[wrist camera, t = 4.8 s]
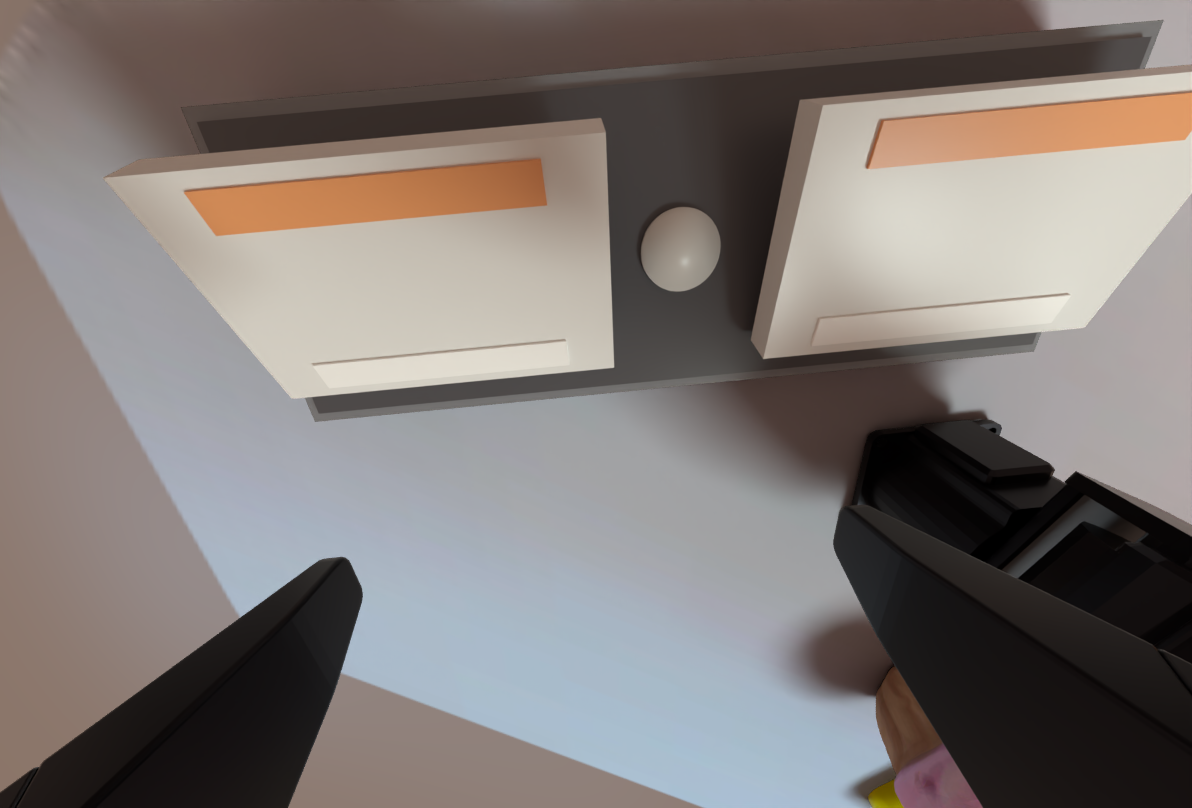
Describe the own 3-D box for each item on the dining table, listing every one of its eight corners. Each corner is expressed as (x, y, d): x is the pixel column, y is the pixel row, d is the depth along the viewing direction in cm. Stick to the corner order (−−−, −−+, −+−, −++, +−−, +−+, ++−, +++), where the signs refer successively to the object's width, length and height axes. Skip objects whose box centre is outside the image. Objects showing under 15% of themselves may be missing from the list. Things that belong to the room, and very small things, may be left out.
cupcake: (990, 653, 30) (1170, 847, 21) (917, 722, 33) (1044, 913, 24) (887, 634, 28) (1033, 835, 19) (821, 708, 32) (919, 907, 23)
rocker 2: (1052, 310, 15) (1087, 329, 14) (750, 340, 15) (764, 360, 14) (1231, 60, 11) (1301, 62, 10) (799, 100, 10) (824, 105, 9)
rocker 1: (610, 345, 15) (614, 369, 14) (305, 374, 15) (291, 401, 14) (601, 118, 10) (606, 133, 9) (139, 159, 10) (98, 179, 9)
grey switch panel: (968, 330, 19) (1044, 355, 16) (351, 390, 19) (309, 426, 16) (1055, 53, 15) (1181, 14, 12) (253, 125, 14) (168, 104, 11)
